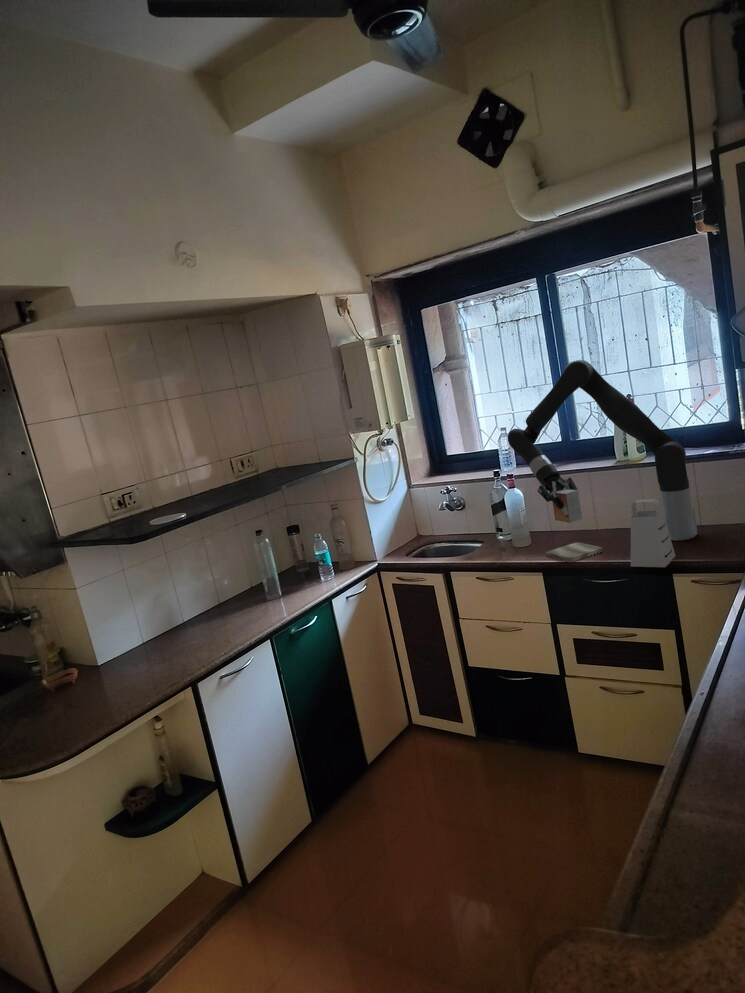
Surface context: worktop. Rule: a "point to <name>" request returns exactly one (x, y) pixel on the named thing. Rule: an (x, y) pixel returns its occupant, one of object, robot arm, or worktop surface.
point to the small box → (568, 506)
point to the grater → (650, 538)
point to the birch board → (574, 552)
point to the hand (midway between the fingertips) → (569, 505)
